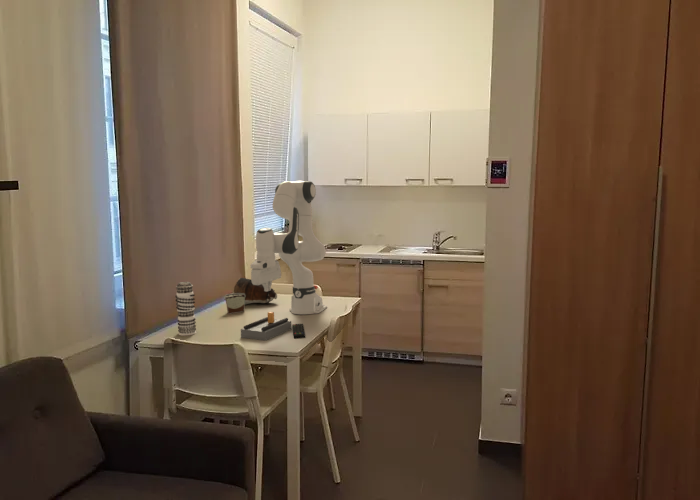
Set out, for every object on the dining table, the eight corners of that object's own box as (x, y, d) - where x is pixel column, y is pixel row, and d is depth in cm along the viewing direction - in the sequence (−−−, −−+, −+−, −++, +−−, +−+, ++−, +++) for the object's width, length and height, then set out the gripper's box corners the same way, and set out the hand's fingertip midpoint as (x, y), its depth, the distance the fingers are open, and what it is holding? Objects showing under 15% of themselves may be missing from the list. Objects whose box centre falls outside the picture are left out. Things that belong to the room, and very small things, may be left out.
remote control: (293, 339, 281) (293, 336, 281) (292, 326, 304) (292, 324, 304) (305, 338, 281) (305, 336, 281) (302, 326, 305) (302, 323, 305)
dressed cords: (269, 318, 303) (269, 315, 303) (288, 320, 298) (288, 317, 298) (242, 329, 284) (242, 326, 284) (263, 331, 279) (263, 328, 279)
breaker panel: (267, 326, 304) (267, 318, 304) (291, 328, 298) (291, 320, 298) (241, 337, 285) (240, 329, 284) (265, 340, 279) (265, 331, 278)
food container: (242, 309, 345) (241, 291, 344) (246, 311, 340) (245, 293, 339) (221, 312, 339) (220, 294, 338) (225, 314, 334) (224, 296, 332)
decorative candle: (191, 329, 302) (188, 280, 299) (200, 332, 295) (197, 282, 292) (174, 333, 296) (170, 282, 293) (183, 336, 289) (179, 285, 286)
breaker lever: (270, 321, 296) (269, 311, 295) (274, 322, 295) (273, 312, 294) (267, 322, 294) (267, 312, 294) (272, 323, 293) (271, 313, 292)
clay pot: (274, 286, 348) (235, 277, 354) (269, 312, 348) (230, 303, 354) (283, 285, 362) (245, 276, 368) (279, 310, 363) (241, 301, 369)
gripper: (272, 258, 300) (274, 286, 302) (248, 265, 282) (249, 294, 284) (283, 259, 297) (285, 287, 299) (259, 266, 279) (260, 295, 281)
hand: (267, 290), depth 291 cm, fingers closed
